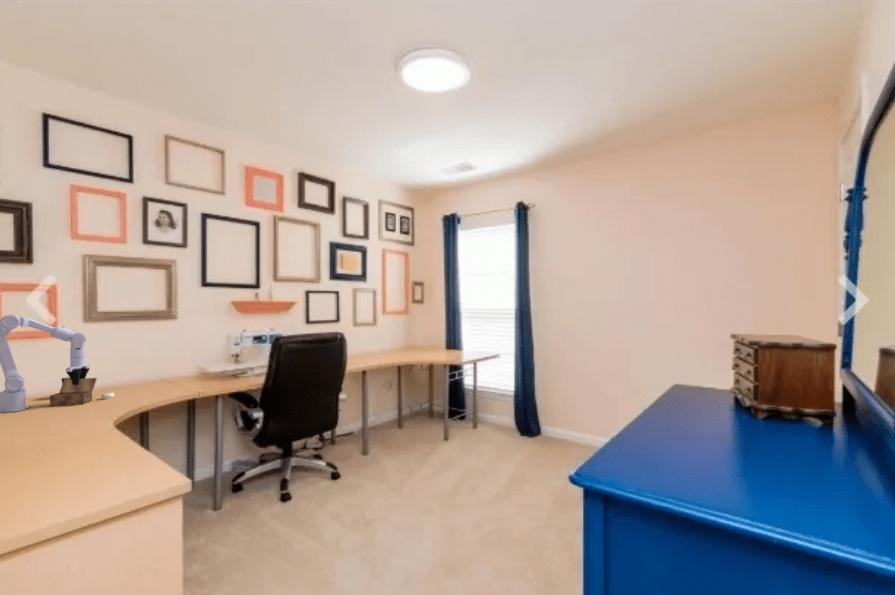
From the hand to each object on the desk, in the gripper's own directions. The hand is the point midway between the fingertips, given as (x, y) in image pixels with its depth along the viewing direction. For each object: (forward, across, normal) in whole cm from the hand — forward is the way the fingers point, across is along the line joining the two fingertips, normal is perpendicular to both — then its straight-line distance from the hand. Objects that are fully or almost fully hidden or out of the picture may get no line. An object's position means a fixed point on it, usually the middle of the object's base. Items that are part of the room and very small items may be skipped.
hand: (78, 384), depth 212 cm
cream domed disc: (+9, +4, -11) cm, 15 cm away
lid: (+1, 0, 0) cm, 1 cm away
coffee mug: (+9, +15, +12) cm, 21 cm away
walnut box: (+9, -5, 0) cm, 10 cm away
